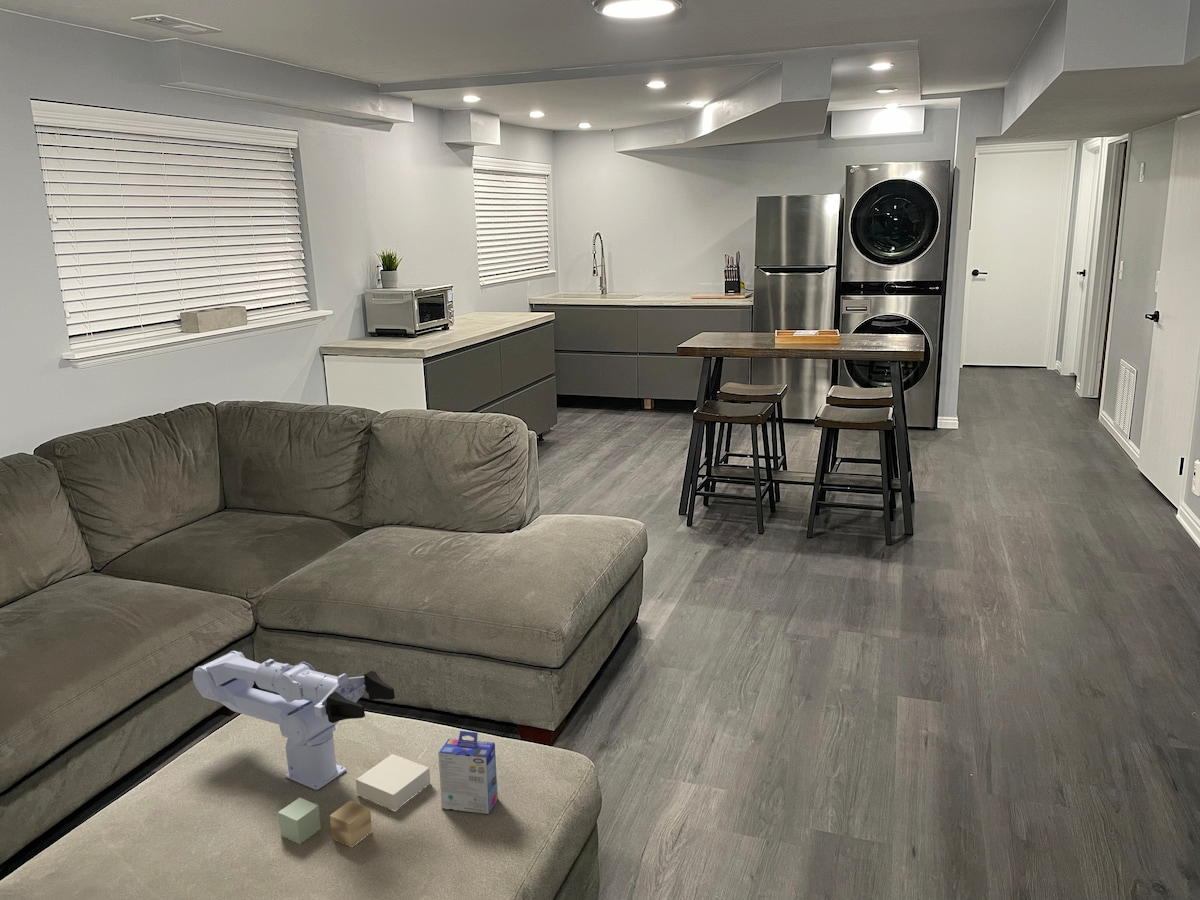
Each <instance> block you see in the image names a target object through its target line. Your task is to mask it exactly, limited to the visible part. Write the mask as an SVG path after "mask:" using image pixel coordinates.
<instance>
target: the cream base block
mask: <svg viewBox="0 0 1200 900" xmlns="http://www.w3.org/2000/svg"><path fill="white" fill-rule="evenodd" d="M430 772H431V771H430V767H428V766H425V765H423V764H420V763H417V762H416V761H415V762H414V761H412V760H410V759H407V758H405V757H402V756H400V755H396V754H394V753H391V754H390V755H388V756H387V757H385V758H384V759H383V760H381V761H380V762H379V763H377V764H376V765H374V766H373V767H372V768H370V769H368V770H367V771H366V772H364V773H363V774H361V775H360V776H359V777H358V778H355V784H356V794H357V795H360V796H361V797H365V798H367V799H369V800H371V801H374V802H376V803H379V804H381V805H383V806H386V807H388V808H390V809H393V810H396V809H397V808H399V807H400V806H401V805H402V804H403V803H404V802H406V801H407V800H408V799H410V798H411V797H412V796H414V795H415V794H416V793H418V792H419V791H420V790H422V789H423V788H424V787H425V786H427V785H428V784H429V783H431V773H430ZM422 791H423V790H422ZM361 797H360V798H361ZM371 801H370V802H371ZM376 803H375V804H376ZM383 806H382V807H383ZM390 809H389V810H390ZM399 809H400V808H399Z"/></svg>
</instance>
